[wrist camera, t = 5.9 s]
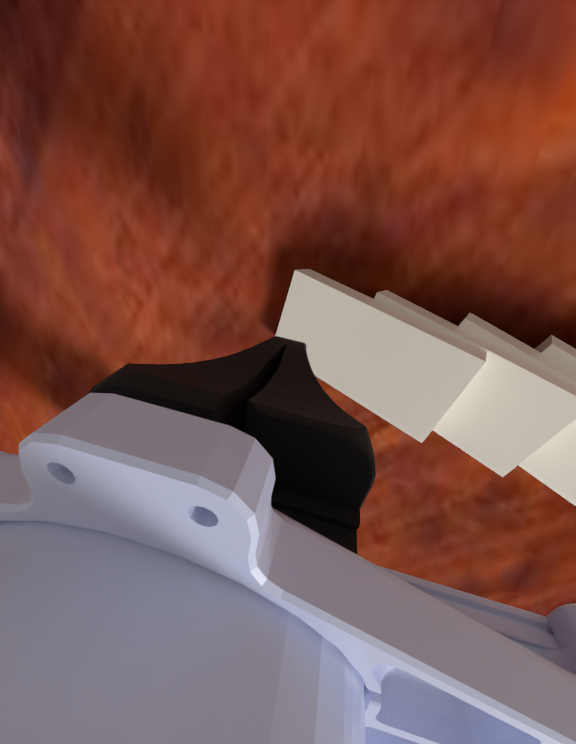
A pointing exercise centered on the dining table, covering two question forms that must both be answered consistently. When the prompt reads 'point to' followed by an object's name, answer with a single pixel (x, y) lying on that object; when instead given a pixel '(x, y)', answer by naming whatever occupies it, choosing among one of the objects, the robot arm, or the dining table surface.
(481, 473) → the dining table surface
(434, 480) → the dining table surface
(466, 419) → the domino
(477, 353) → the domino
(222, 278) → the dining table surface
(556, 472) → the domino
